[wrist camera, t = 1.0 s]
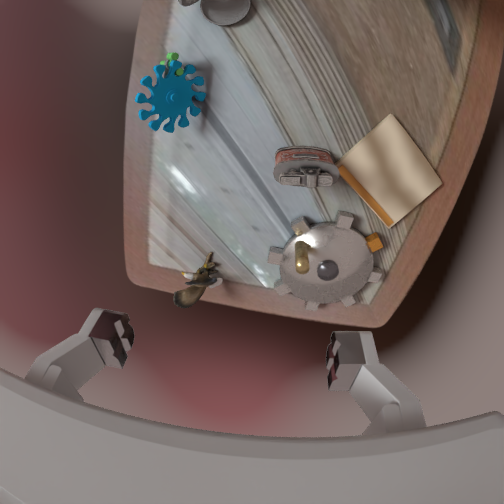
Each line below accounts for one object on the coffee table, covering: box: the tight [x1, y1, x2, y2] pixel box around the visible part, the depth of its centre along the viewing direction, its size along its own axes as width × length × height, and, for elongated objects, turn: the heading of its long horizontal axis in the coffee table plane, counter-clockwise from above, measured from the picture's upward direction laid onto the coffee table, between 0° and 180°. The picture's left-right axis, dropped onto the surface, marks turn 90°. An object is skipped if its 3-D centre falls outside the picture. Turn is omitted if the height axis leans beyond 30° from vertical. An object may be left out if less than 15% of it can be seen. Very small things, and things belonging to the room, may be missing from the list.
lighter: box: [273, 146, 340, 188], centre depth 37 cm, size 8×3×10 cm, turn 92°
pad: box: [335, 114, 442, 229], centre depth 41 cm, size 12×14×1 cm
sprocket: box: [268, 211, 383, 311], centre depth 48 cm, size 20×20×8 cm
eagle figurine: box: [174, 252, 223, 308], centre depth 51 cm, size 8×7×9 cm
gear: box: [135, 53, 206, 133], centre depth 35 cm, size 11×6×10 cm
